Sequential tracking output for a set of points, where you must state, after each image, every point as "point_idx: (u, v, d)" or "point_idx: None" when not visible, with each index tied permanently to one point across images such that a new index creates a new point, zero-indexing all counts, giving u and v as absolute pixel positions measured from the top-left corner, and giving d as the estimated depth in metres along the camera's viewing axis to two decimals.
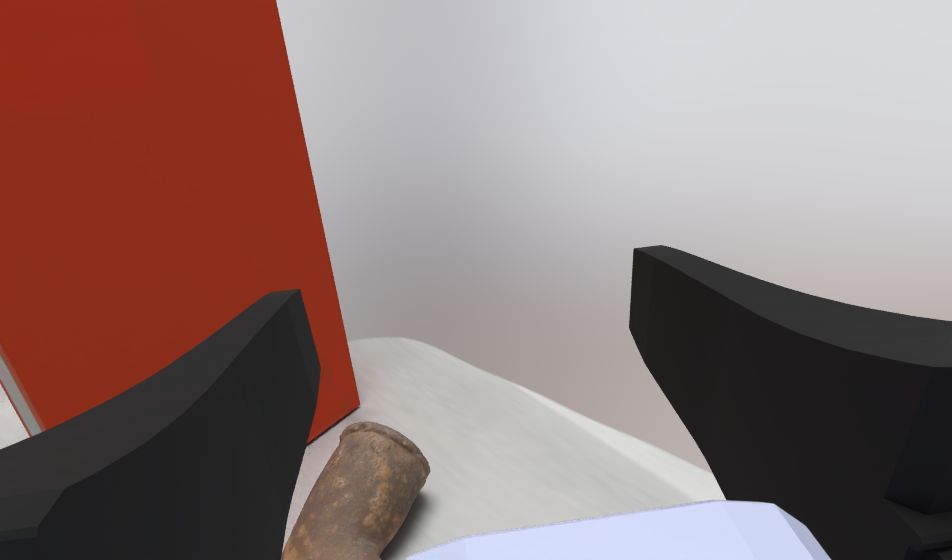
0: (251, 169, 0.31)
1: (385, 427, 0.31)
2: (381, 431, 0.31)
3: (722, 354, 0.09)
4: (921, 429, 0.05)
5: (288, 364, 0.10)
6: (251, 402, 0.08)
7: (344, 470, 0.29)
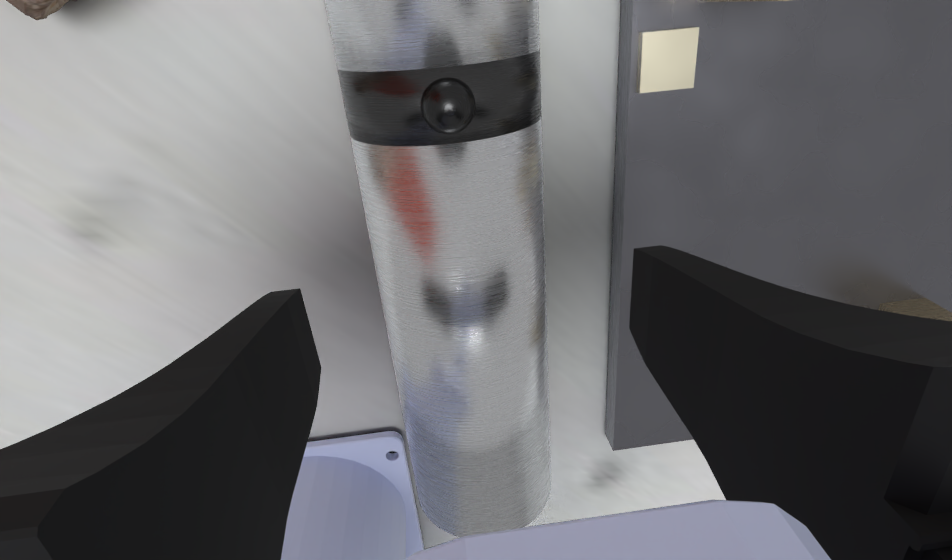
0: None
1: None
2: None
3: (722, 354, 0.09)
4: (921, 428, 0.05)
5: (288, 364, 0.10)
6: (251, 402, 0.08)
7: None
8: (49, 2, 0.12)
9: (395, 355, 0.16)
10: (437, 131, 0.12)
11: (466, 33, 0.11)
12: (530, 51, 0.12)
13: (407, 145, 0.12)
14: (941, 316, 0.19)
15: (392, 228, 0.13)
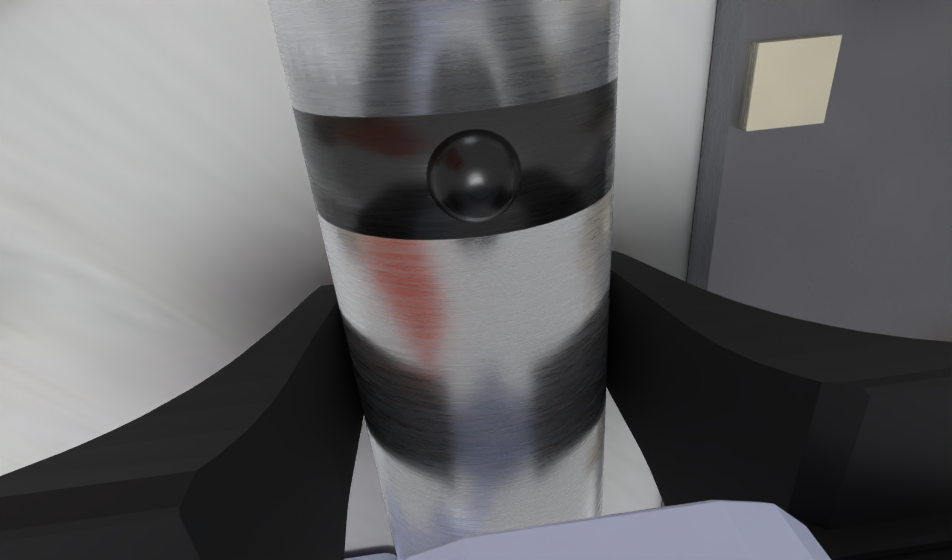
0: None
1: None
2: None
3: (658, 362, 0.09)
4: (815, 443, 0.05)
5: (344, 357, 0.10)
6: (318, 393, 0.08)
7: None
8: None
9: (388, 506, 0.11)
10: (455, 219, 0.07)
11: (509, 51, 0.06)
12: (609, 78, 0.07)
13: (405, 235, 0.07)
14: None
15: (381, 353, 0.09)
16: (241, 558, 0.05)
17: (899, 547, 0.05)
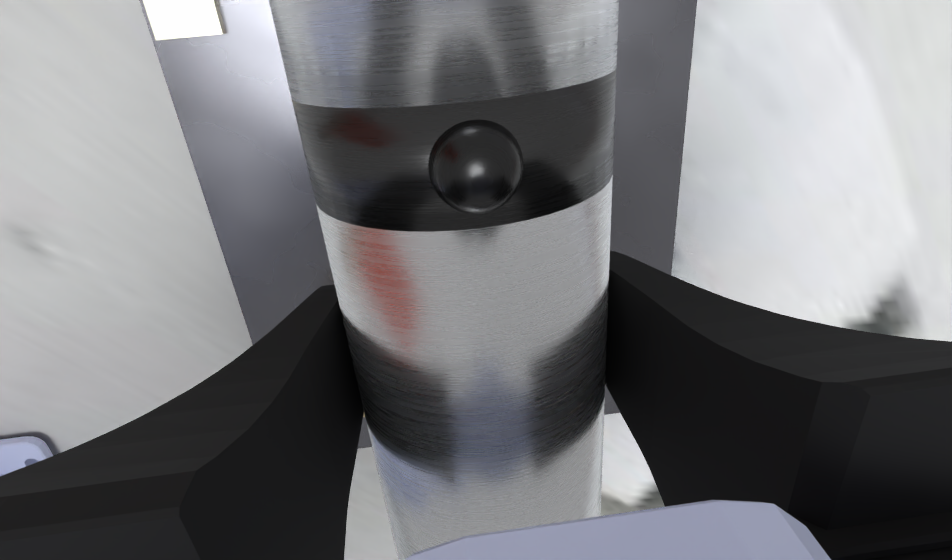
0: None
1: None
2: None
3: (658, 362, 0.09)
4: (815, 443, 0.05)
5: (344, 357, 0.10)
6: (318, 393, 0.08)
7: None
8: None
9: (388, 501, 0.11)
10: (457, 210, 0.07)
11: (511, 42, 0.06)
12: (609, 70, 0.07)
13: (406, 228, 0.07)
14: None
15: (381, 346, 0.08)
16: (241, 558, 0.05)
17: (899, 547, 0.05)
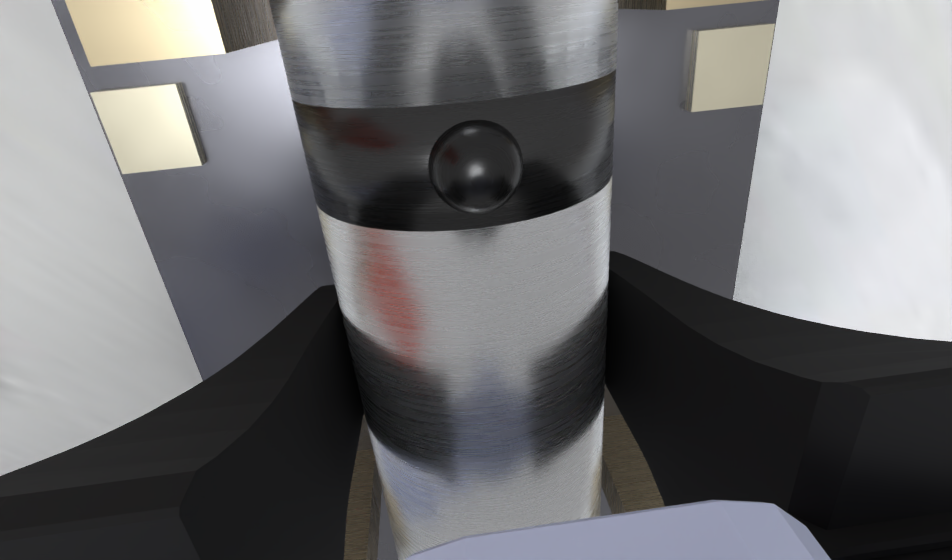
0: None
1: None
2: None
3: (658, 362, 0.09)
4: (816, 443, 0.05)
5: (344, 357, 0.10)
6: (318, 393, 0.08)
7: None
8: None
9: (388, 501, 0.11)
10: (457, 210, 0.07)
11: (511, 42, 0.06)
12: (608, 70, 0.07)
13: (406, 228, 0.07)
14: None
15: (381, 346, 0.09)
16: (241, 558, 0.05)
17: (899, 547, 0.05)
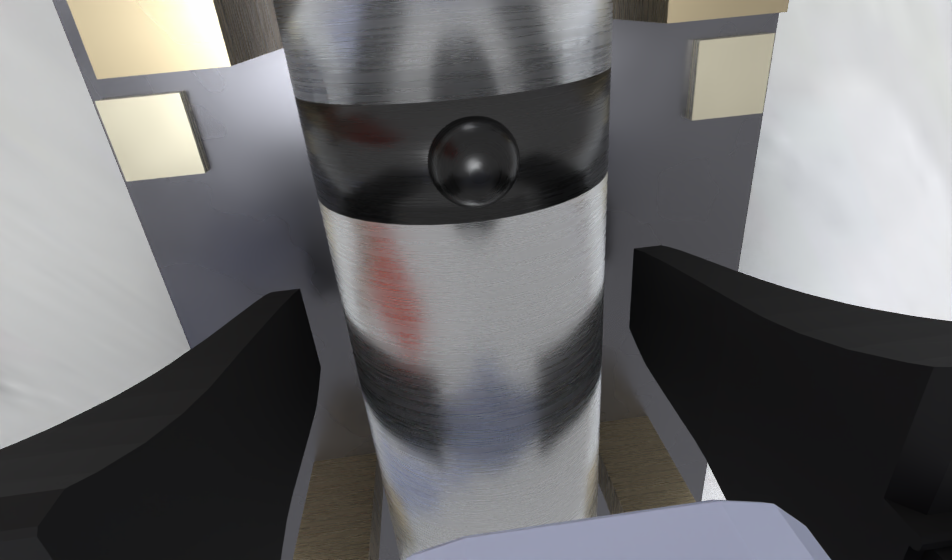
0: None
1: None
2: None
3: (722, 354, 0.09)
4: (921, 429, 0.05)
5: (288, 364, 0.10)
6: (251, 402, 0.08)
7: None
8: None
9: (388, 493, 0.11)
10: (456, 204, 0.07)
11: (507, 40, 0.06)
12: (603, 68, 0.08)
13: (406, 222, 0.07)
14: (646, 449, 0.15)
15: (382, 338, 0.09)
16: None
17: None
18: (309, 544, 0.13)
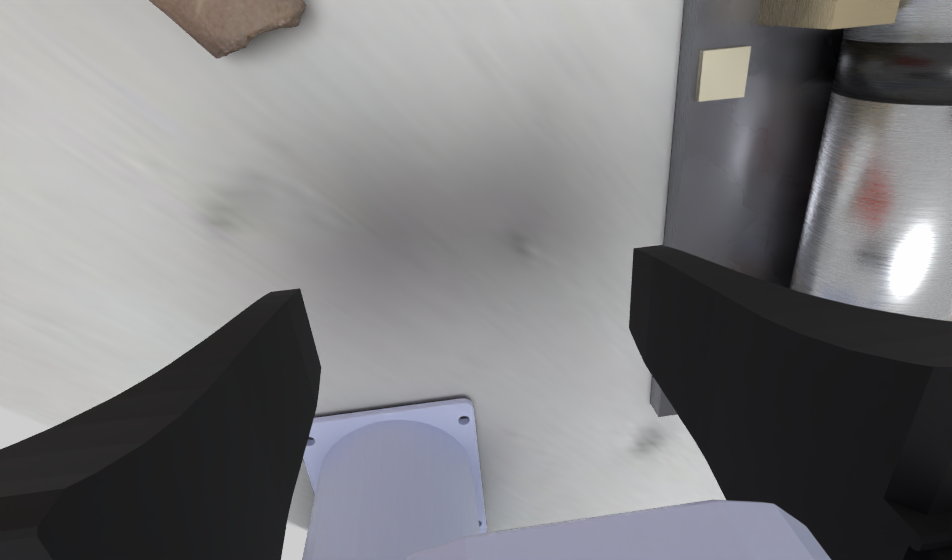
0: None
1: None
2: None
3: (722, 354, 0.09)
4: (921, 429, 0.05)
5: (288, 364, 0.10)
6: (251, 402, 0.08)
7: None
8: None
9: (819, 288, 0.19)
10: None
11: None
12: None
13: (936, 104, 0.15)
14: None
15: (883, 175, 0.16)
16: None
17: None
18: None
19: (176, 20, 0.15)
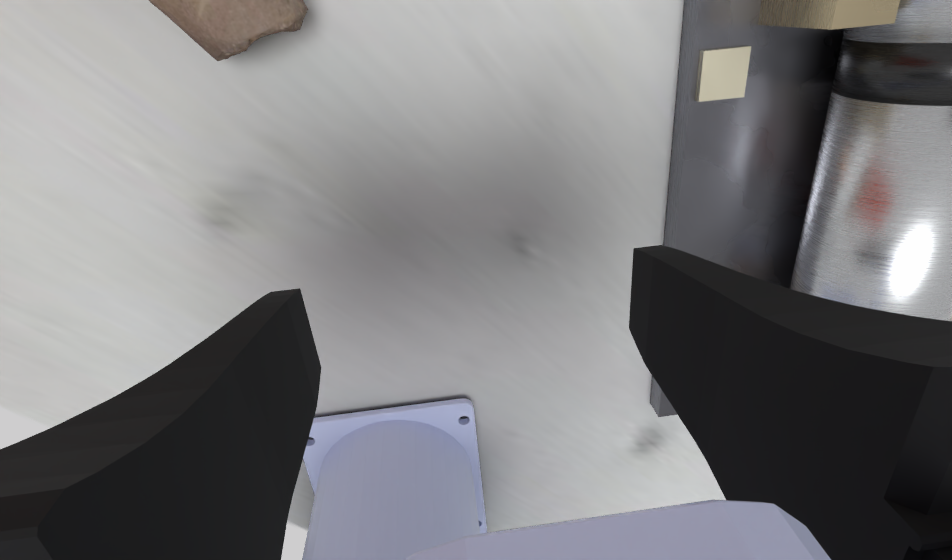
0: None
1: None
2: None
3: (722, 354, 0.09)
4: (921, 428, 0.05)
5: (288, 364, 0.10)
6: (251, 402, 0.08)
7: None
8: (240, 52, 0.15)
9: (819, 288, 0.19)
10: None
11: None
12: None
13: (935, 104, 0.15)
14: None
15: (882, 175, 0.16)
16: None
17: None
18: None
19: (178, 22, 0.15)
